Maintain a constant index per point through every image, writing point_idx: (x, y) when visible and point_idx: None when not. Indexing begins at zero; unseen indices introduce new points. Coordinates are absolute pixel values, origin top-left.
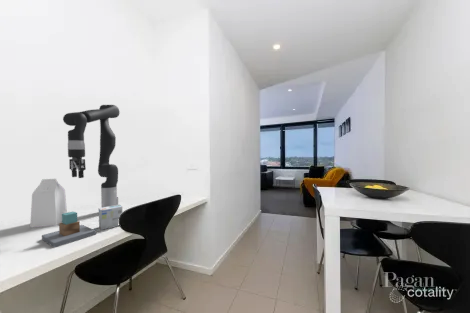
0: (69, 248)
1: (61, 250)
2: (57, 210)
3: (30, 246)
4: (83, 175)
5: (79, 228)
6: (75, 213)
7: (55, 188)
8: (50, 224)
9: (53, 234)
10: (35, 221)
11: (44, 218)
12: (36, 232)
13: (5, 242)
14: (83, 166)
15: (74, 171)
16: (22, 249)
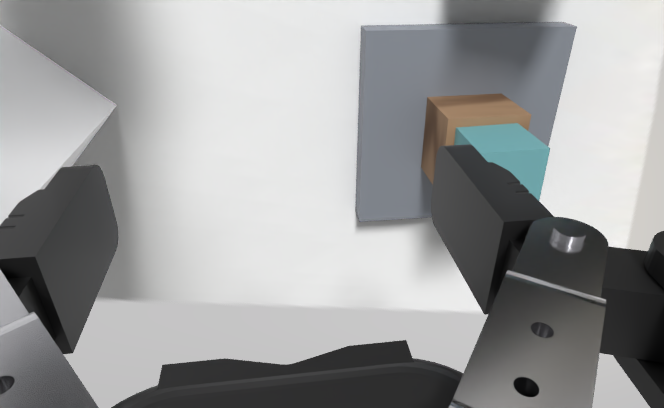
0: (597, 166)
1: (583, 189)
2: (53, 130)
3: (409, 251)
4: (487, 162)
5: (510, 101)
6: (546, 157)
7: None
8: (95, 134)
9: (405, 187)
10: None
11: None
12: (197, 206)
13: (251, 302)
14: (598, 305)
15: (65, 291)
16: (416, 271)
